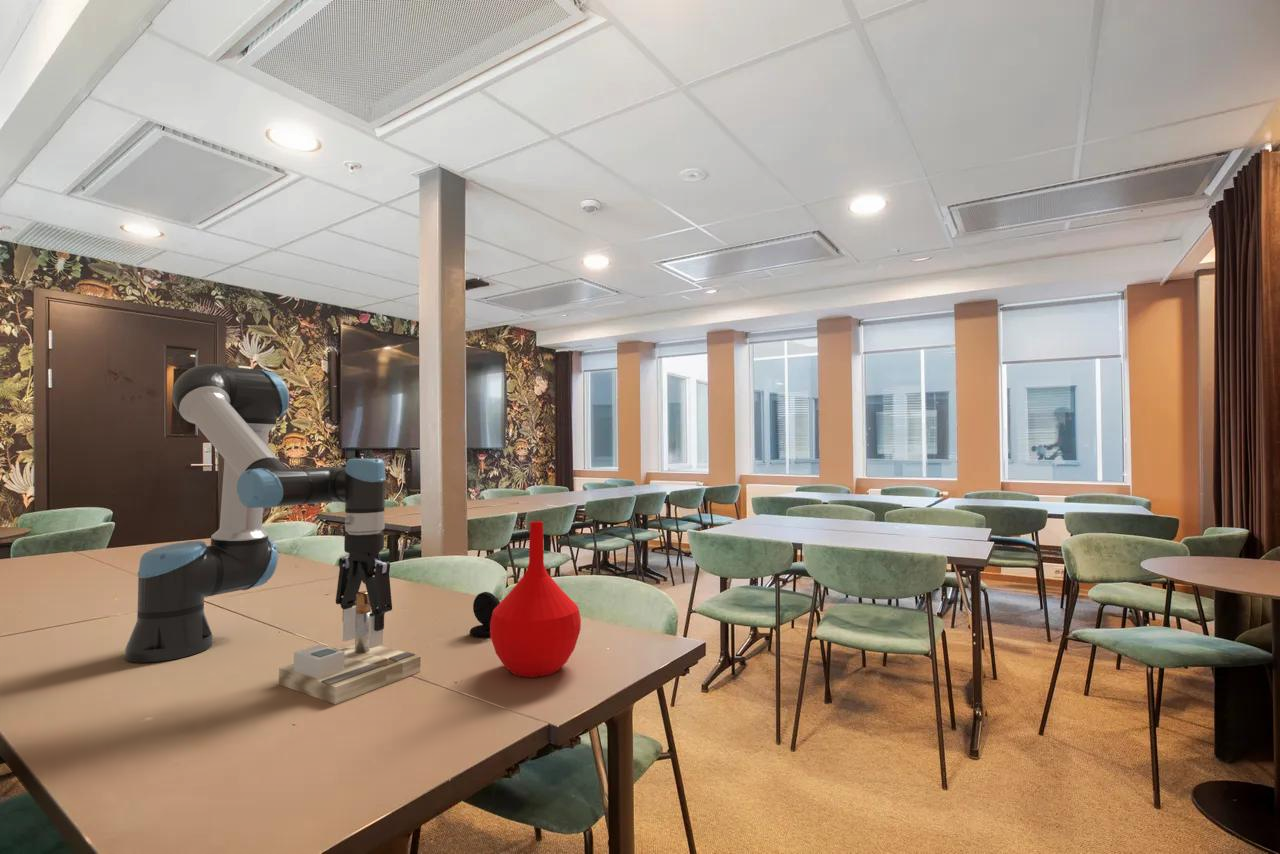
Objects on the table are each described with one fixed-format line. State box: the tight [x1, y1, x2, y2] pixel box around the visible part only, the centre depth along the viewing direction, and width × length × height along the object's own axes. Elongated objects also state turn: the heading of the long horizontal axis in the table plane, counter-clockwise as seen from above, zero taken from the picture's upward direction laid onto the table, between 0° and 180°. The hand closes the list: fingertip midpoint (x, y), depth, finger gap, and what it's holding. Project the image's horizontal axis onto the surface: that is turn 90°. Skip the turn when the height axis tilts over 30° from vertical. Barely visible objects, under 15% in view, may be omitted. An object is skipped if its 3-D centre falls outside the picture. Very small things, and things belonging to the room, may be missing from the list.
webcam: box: [469, 591, 501, 639], centre depth 144 cm, size 8×8×10 cm
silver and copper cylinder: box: [354, 590, 372, 653], centre depth 122 cm, size 3×3×12 cm
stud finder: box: [293, 644, 344, 679], centre depth 111 cm, size 8×5×4 cm, turn 59°
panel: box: [278, 644, 422, 705], centre depth 115 cm, size 18×18×3 cm
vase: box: [489, 520, 582, 678], centre depth 121 cm, size 18×18×30 cm
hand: (362, 642), depth 122 cm, fingers open, 8 cm apart
